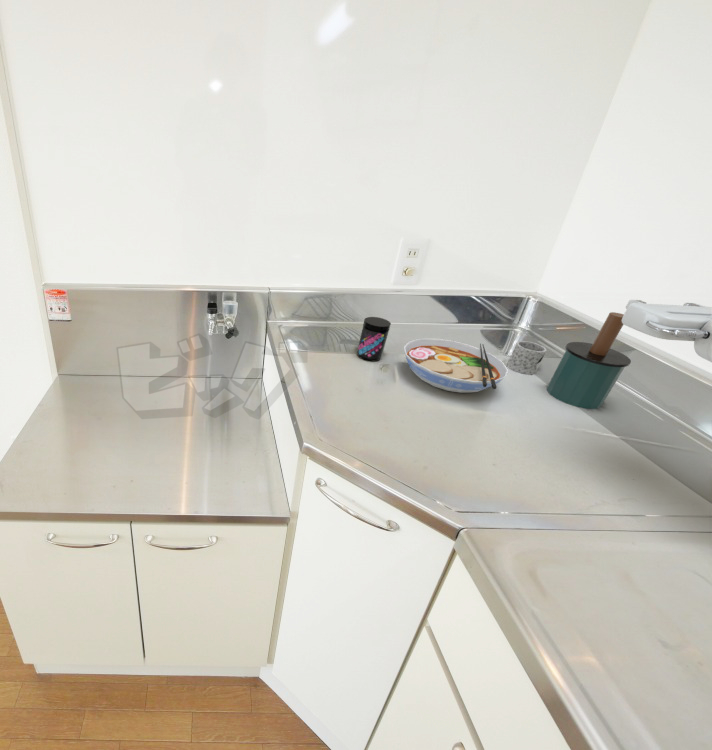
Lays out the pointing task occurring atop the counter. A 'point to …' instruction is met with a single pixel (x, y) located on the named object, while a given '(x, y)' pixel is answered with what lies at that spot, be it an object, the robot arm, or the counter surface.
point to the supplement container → (373, 338)
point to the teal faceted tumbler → (582, 382)
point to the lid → (602, 345)
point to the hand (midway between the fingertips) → (658, 305)
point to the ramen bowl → (454, 365)
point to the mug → (526, 357)
